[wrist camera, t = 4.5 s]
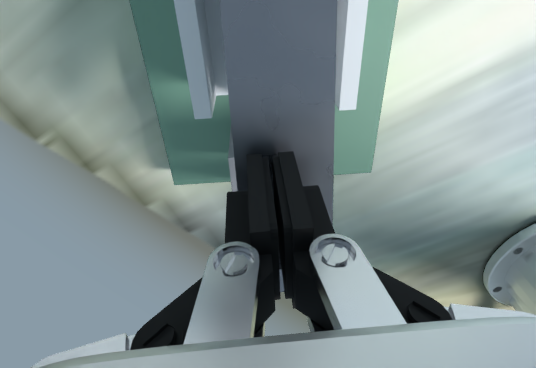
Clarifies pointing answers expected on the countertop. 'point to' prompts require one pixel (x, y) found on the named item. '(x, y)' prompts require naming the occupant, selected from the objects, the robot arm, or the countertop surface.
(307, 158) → the thin grey bar
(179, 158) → the base
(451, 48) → the countertop surface
